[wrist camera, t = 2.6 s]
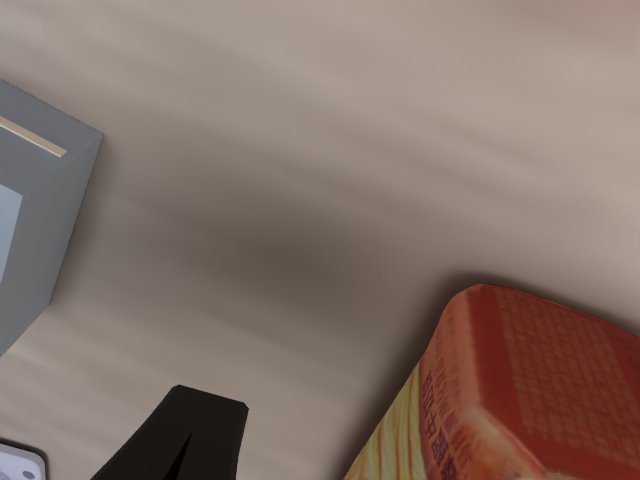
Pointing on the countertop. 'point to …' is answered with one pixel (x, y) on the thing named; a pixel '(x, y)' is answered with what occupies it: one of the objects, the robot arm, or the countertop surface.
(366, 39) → the countertop surface
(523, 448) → the snack package
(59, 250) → the striped grey-blue box
